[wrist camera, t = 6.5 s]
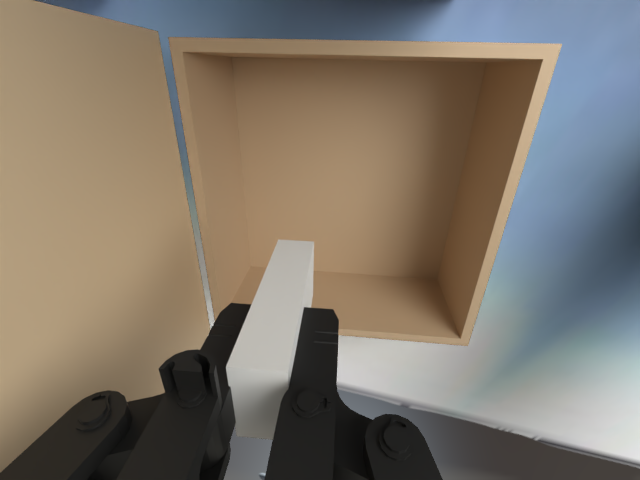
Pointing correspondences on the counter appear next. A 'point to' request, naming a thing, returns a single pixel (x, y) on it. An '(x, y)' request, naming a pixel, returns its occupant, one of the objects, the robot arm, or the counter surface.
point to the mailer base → (360, 169)
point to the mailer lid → (87, 218)
